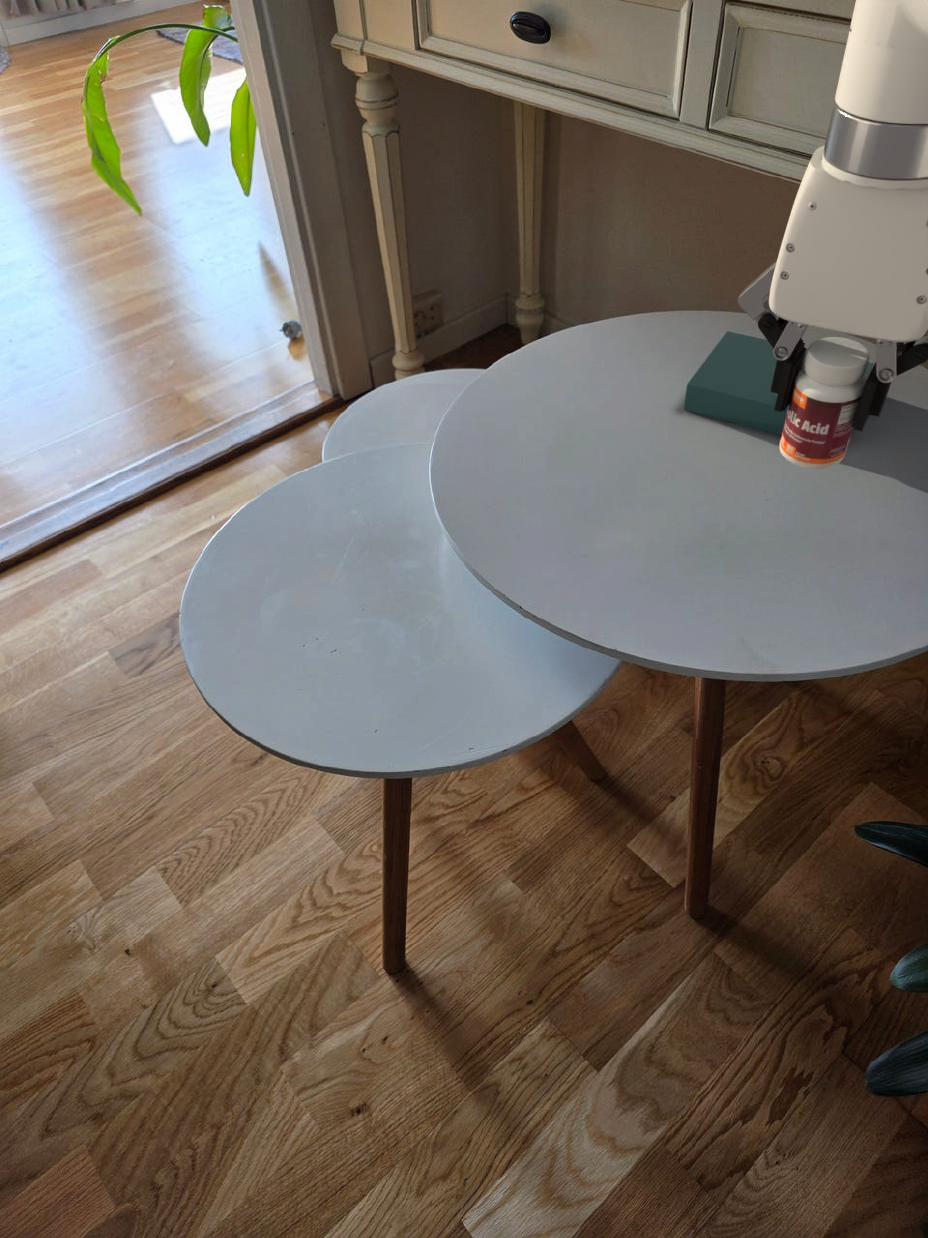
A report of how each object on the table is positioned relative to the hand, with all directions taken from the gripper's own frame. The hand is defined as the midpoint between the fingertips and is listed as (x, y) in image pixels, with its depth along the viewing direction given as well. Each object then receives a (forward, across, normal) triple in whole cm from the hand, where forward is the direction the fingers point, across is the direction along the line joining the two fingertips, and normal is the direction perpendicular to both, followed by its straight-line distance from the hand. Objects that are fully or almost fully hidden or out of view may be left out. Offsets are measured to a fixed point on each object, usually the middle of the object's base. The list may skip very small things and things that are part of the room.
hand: (823, 408), depth 63 cm
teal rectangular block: (+18, +9, -27) cm, 34 cm away
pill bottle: (+4, 0, 0) cm, 4 cm away
